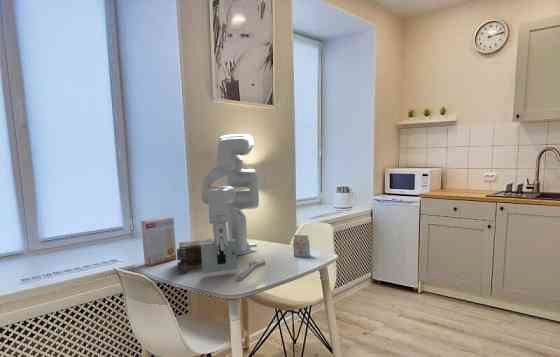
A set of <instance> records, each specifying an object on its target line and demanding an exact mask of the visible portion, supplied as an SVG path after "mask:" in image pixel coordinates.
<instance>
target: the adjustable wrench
mask: <svg viewBox="0 0 560 357" xmlns="http://www.w3.org/2000/svg"><path fill="white" fill-rule="evenodd" d="M248 265H249V266H248V267H247V268H246V269H244V271H242V272H241V273H240V274H239V275H237V276H236V277H235V280H236V282H242V281H243V280H244V279H246V278H247V277H248V276H249V275H250V274H251V273H252V272H253V271H255V270H256V269H257V268H259V267H262V266H265V265H266V260H265V259H261V260H260V261H256V259H254V260H251V261H250V262H248Z"/></svg>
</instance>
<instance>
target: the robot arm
mask: <svg viewBox="0 0 560 357" xmlns="http://www.w3.org/2000/svg"><path fill="white" fill-rule="evenodd" d="M217 143H218V144H217V151H216V161H215V166H213V168H211V169H210V170H209V171H208V172H207V174H206V175H205V176H204V178H203V180H202V185H201V186H202V187H201V188H202V189H201V200H202V202H203V203H204V204H206V205H208V206H207V207H208V220H209V221H208V222H209V224H211V225H212V235H213V236H212V237H213V242H215V245H216V247H217V248H218V255H217V258H218V264H225V263H226V257H225V246H226V247H228V240H231V239H235V240H236V254H237V256H241V255H245V254H246V255H247V254H248V253H250V252H251V251H252V250H251V248H257V243H256V242H255V243H253V242H250V243H249V242H248V233H247V232H248V231H247V218H246V215H245V214H244V212H243V211H242V210H254V209H257V208H258V207H259V205H260V204H259V203H260V197H259V196H260V194H259V176H258V173H257V171H256V170H255V169H253V168H252V169H251V168H247V169H244V162H243V159H242V157H241V156H247V155H249V153H250V152H251V151H252V150H253V148H254V139H253V136H252V135H251V134H248V133H247V134H246V133H245V134H227V135H226V134H225V135H222V136H220V137H219V138H218V141H217ZM225 176H226V184H227V185H226V186H225V185H223V186H212V185H213V184H214V182H216V181H217V180H218V179H221V178H223V177H225ZM235 189H249V190H235ZM224 244H225V246H224ZM219 246H220V247H219Z"/></svg>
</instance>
